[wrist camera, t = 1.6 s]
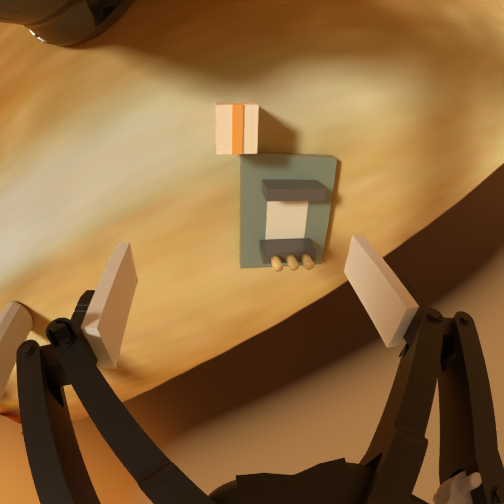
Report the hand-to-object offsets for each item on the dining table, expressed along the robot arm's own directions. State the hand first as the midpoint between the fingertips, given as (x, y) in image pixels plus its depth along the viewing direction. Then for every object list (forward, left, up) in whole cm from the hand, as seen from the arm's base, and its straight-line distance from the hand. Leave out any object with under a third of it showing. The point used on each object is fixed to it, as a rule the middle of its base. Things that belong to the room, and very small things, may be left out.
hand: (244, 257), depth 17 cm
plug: (-5, +1, -22) cm, 22 cm away
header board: (+7, +8, -22) cm, 24 cm away
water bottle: (+25, -43, -22) cm, 54 cm away
